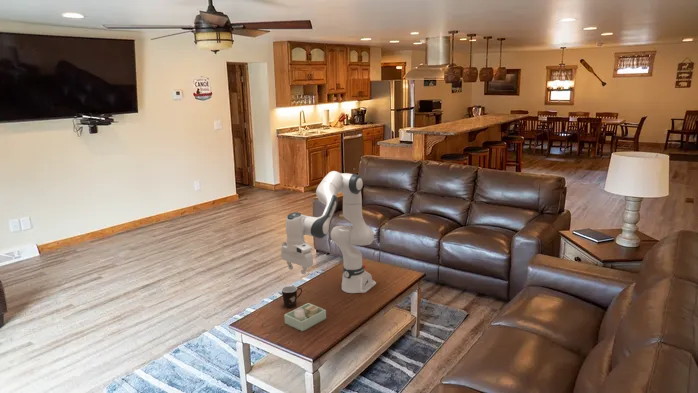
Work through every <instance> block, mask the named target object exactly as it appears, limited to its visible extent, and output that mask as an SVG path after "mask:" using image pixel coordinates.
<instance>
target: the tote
mask: <svg viewBox="0 0 698 393" xmlns="http://www.w3.org/2000/svg"><path fill="white" fill-rule="evenodd" d="M311 305H313V306H315V307H318V314H316V315H314V316H312V317H310V318H306V317H305V320H304V321H302V322H301V321H299V320H297V319H295V313H294V310H295V309H293V310H291V311H289V312H287V313H284V316H283V318H284V324H285V325H287V326H289V327H291V328H293V329H296V330H298V331H300V332H304V331H306V330H308V329H310V328H312V327H313V326H316V325H317V324H319V323H321V322H323V321H324V320H327V310H326V309H324V308H322V307H321V306H317V305H314V304H312V303H309V302H307V303H306V304H305V303H304V304H303V305H301V306H299V307H297V308H296V309H298V308H302V309H304V316H305V308H307V307H309V306H311Z"/></svg>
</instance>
